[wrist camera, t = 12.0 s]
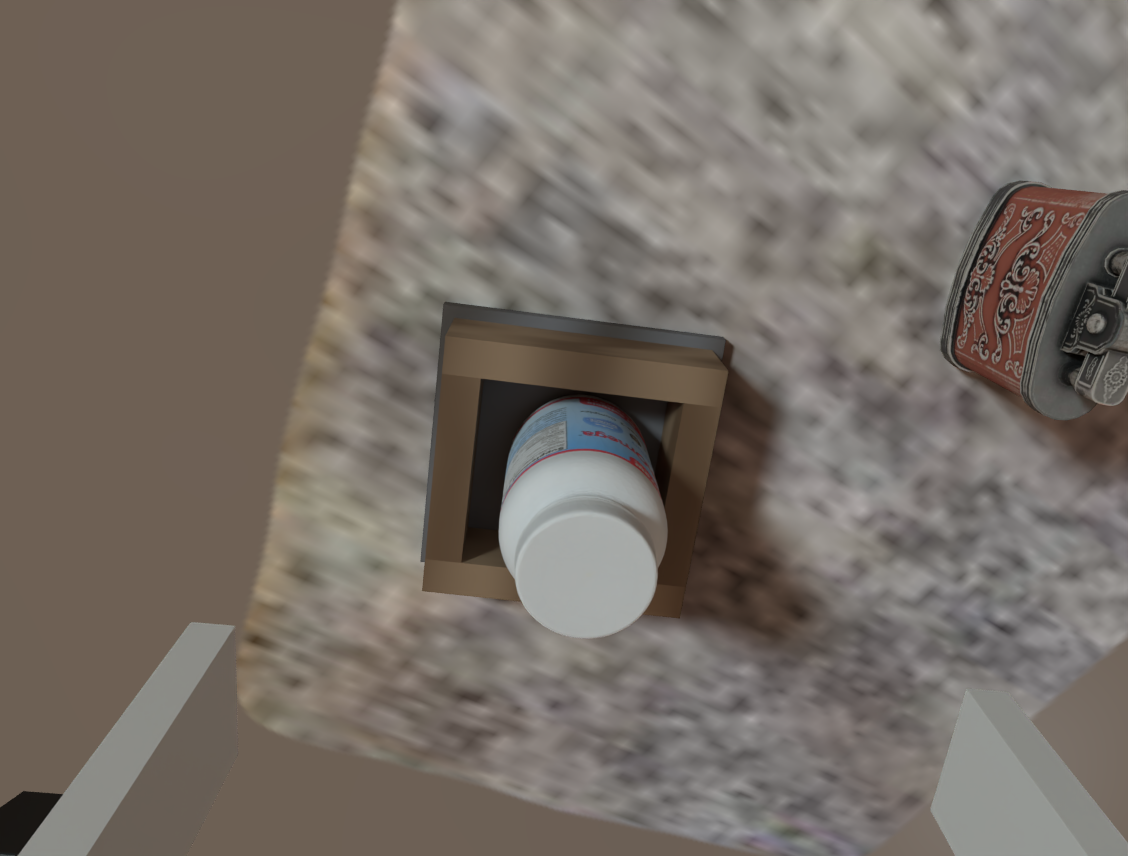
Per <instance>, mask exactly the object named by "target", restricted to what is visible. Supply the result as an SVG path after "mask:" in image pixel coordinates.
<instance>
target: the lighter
mask: <svg viewBox="0 0 1128 856" xmlns="http://www.w3.org/2000/svg"><path fill="white" fill-rule="evenodd" d="M940 350H941V352H942V354H943V356H944V358H945V359H946V360H948V361H949V362H950V363H951V364H953V365H954V366H956V367H958V368H960V369H962V370H965V371H967V372H973V373H978V374H980V375H982V376H983V377H985V378H987V379H989V380H991V381H992V382H994V383H996V384H998V385H1000V386H1002V387H1003V388H1005V389H1007V390H1009V391H1011V392H1013V393H1014V394H1016V395H1018V396H1020V397H1022V398H1023V400H1024V402H1025V403H1026V404H1027V405H1029V406H1030V407H1031V408H1032V409H1033V410H1035V411H1037V412H1039V413H1041V414H1042V415H1044V416H1047V417H1049V418H1052V419H1055V420H1070V419H1074V418H1078V417H1081V416H1082V415H1084V414H1086V413H1088V412H1089V411H1091V410H1092V409H1093V407H1094V406H1095V405H1096V404H1097V403H1099V404H1101V405H1106V406H1115V405H1118V404H1119V403H1120V402H1122V401H1123V399H1124V398H1125V396H1126V394H1127V392H1128V191H1126V190H1121V191H1117V192H1113V193H1109V194H1105V193H1095V192H1085V191H1076V190H1066V189H1056V188H1052V187H1050V186H1048V185H1046V184H1044V183H1041V182H1031V181H1016V182H1012V183H1008V184H1006V185H1005V186H1003V187H1002V188H1000V189H999V190H998V191H997V192H996V193H995V194H994V196H993V197H992V199H991V200H990V202H989V204H988V206H987V207H986V209H985V211H984V213H983V214H982V216H981V218H980V220H979V222H978V223H977V225H976V227H975V229H974V230H973V232H972V235H971V237H970V239H969V241H968V244H967V246H966V248H965V251H964V253H963V255H962V258H961V260H960V262H959V264H958V267H957V269H956V273H955V276H954V280H953V283H952V286H951V290H950V293H949V297H948V300H947V304H946V308H945V314H944V320H943V326H942V332H941V338H940Z"/></svg>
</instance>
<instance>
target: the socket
mask: <svg viewBox="0 0 1128 856" xmlns="http://www.w3.org/2000/svg"><path fill="white" fill-rule="evenodd" d="M725 341H726V340H725V339H724V338H723V337H719V336H711V335H703V334H695V333H687V332H679V331H671V330H663V329H655V328H648V327H640V326H632V325H624V324H616V323H608V322H600V321H592V320H584V319H576V318H569V317H561V316H553V315H545V314H537V313H529V312H521V311H513V310H505V309H497V308H490V307H482V306H474V305H466V304H458V303H450V302H445V303H444V304H443V316H442V327H441V338H440V349H439V360H438V372H437V383H436V394H435V405H434V416H433V428H432V439H431V450H430V461H429V472H428V484H427V495H426V506H425V517H424V528H423V540H422V551H421V562H425V566H424V577H423V588H422V591H427V592H436V593H445V594H455V595H464V596H474V597H483V598H493V599H502V600H512V601H521V600H520V597H519V595H518V592H517V588H516V583H515V579H514V578H513V576H512V575H511V573H510V572H509V570H508V568H507V566H506V564H505V562H504V559H503V556H502V553H501V549H500V544H499V518H500V511H501V504H502V498H503V490H504V482H505V475H506V468H507V461H508V454H509V450H510V446H511V443H512V440H513V438H514V436H515V434H516V432H517V430H518V429H519V427H520V426H521V424H522V423H523V422H524V421H525V420H526V418H527V417H528V416H529V415H530V414H532V413H533V412H534V411H535V410H536V409H538V408H539V407H541V406H542V405H544V404H546V403H548V402H550V401H552V400H554V399H557V398H560V397H563V396H568V395H589V396H595V397H599V398H602V399H604V400H607V401H609V402H611V403H613V404H615V405H616V406H618V407H619V408H621V409H622V410H623V411H625V412H626V413H627V414H628V415H629V416H630V417H631V418H632V420H633V421H634V422H635V424H636V425H637V427H638V428H639V430H640V432H641V434H642V436H643V439H644V441H645V444H646V448H647V451H648V455H649V458H650V461H651V465H652V468H653V471H654V475H655V479H656V481H657V485H658V488H659V492H660V495H661V498H662V502H663V505H664V509H665V514H666V519H667V528H668V533H667V544H666V549H665V553H664V556H663V559H662V561H661V563H660V565H659V567H658V579H657V587H656V590H655V593H654V596H653V599H652V601H651V603H650V605H649V606H648V608H647V609H646V610H645V612H644V613H643V614H644V615H653V616H663V617H672V618H680V614H681V609H682V604H683V599H684V594H685V589H686V584H687V579H688V574H689V569H690V563H691V558H692V553H693V548H694V543H695V538H696V533H697V528H698V523H699V518H700V513H701V508H702V503H703V498H704V493H705V488H706V483H707V477H708V472H709V467H710V462H711V457H712V452H713V447H714V442H715V437H716V432H717V427H718V422H719V417H720V412H721V407H722V402H723V397H724V391H725V386H726V381H727V376H728V370H727V368H726V367H725V366H724V365H723V363H722V357H723V352H724V347H725ZM521 602H522V601H521Z"/></svg>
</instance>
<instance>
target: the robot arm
mask: <svg viewBox="0 0 1128 856" xmlns="http://www.w3.org/2000/svg"><path fill="white" fill-rule="evenodd" d="M237 734H238V731H237V686H236V642H235V626H230V625H218V624H207V623H194V622H191V623H190V624H189V625H188V627H187V628H186V629H185V631H184V632H183V634H182V635H181V636H180V638H179V639H178V640H177V642H176V643H175V644H174V646H173V647H172V648H171V650H170V651H169V652H168V654H167V655H166V656H165V658H164V659H163V660H162V662H161V663H160V665H159V666H158V667H157V669H156V670H155V671H154V673H153V674H152V675H151V677H150V678H149V679H148V681H147V682H146V684H145V685H144V686H143V687H142V689H141V690H140V691H139V693H138V694H137V696H136V697H135V698H134V700H133V701H132V702H131V704H130V705H129V706H128V708H127V709H126V710H125V712H124V713H123V714H122V716H121V717H120V719H119V720H118V721H117V723H116V724H115V725H114V727H113V728H112V729H111V731H110V732H109V733H108V735H107V736H106V737H105V739H104V740H103V741H102V743H101V744H100V746H99V747H98V748H97V750H96V751H95V752H94V754H93V755H92V756H91V758H90V759H89V760H88V762H87V763H86V764H85V766H84V767H83V768H82V770H81V771H80V772H79V774H78V775H77V776H76V778H75V779H74V781H73V782H72V783H71V785H70V786H69V787H68V789H67V790H66V791H65V793H64V794H53V793H39V792H26V791H23V792H22V793H21V794H19V795H17V796H16V797H15V798H13V799H12V800H10V801H9V802H7V803H6V804H5V805H3V806H2V807H0V856H187V854H188V852H189V850H190V848H191V846H192V844H193V842H194V840H195V838H196V836H197V834H198V832H199V830H200V828H201V826H202V824H203V823H204V821H205V819H206V817H207V815H208V813H209V811H210V809H211V807H212V805H213V803H214V801H215V799H216V797H217V795H218V793H219V791H220V789H221V787H222V785H223V783H224V781H225V779H226V777H227V775H228V773H229V772H230V769H231V768H232V765H233V764H234V762H235V760H236V758H237V756H238V735H237ZM930 810H931V812H932V814H933V816H934V818H935V819H936V821H937V823H938V825H939V827H940V829H941V830H942V832H943V834H944V836H945V838H946V840H947V841H948V843H949V845H950V847H951V849H952V851H953V852H954V854H955V856H1128V843H1127V841H1126V840H1125V839H1124V838H1123V836H1122V835H1121V834H1120V832H1119V831H1118V830H1117V829H1116V827H1115V826H1114V825H1113V824H1112V822H1111V821H1110V820H1109V819H1108V817H1107V816H1106V815H1105V814H1104V812H1103V811H1102V810H1101V809H1100V807H1099V806H1098V805H1097V804H1096V802H1095V801H1094V800H1093V798H1092V797H1091V796H1090V795H1089V794H1088V792H1087V791H1086V790H1085V788H1084V787H1083V786H1082V785H1081V783H1080V782H1079V781H1078V780H1077V778H1076V777H1075V776H1074V775H1073V773H1072V772H1071V771H1070V770H1069V768H1068V767H1067V766H1066V764H1065V763H1064V762H1063V761H1062V759H1061V758H1060V757H1059V756H1058V754H1057V753H1056V752H1055V751H1054V749H1053V748H1052V747H1051V746H1050V744H1049V743H1048V742H1047V741H1046V739H1045V738H1044V737H1043V736H1042V734H1041V733H1040V732H1039V731H1038V729H1037V728H1036V727H1035V725H1034V724H1033V723H1032V722H1031V720H1030V719H1029V718H1028V717H1027V715H1026V714H1025V713H1024V712H1023V710H1022V709H1021V708H1020V707H1019V705H1018V704H1017V703H1016V702H1015V700H1014V699H1013V698H1012V696H1011V695H1010V694H1009V693H1008V692H1003V691H991V690H979V689H968V688H967V689H966V692H965V696H964V699H963V702H962V706H961V709H960V712H959V716H958V719H957V722H956V726H955V729H954V732H953V736H952V739H951V742H950V746H949V749H948V752H947V756H946V759H945V762H944V766H943V769H942V772H941V776H940V779H939V782H938V786H937V789H936V792H935V796H934V799H933V802H932V806H931V809H930Z"/></svg>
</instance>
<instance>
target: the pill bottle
mask: <svg viewBox="0 0 1128 856" xmlns="http://www.w3.org/2000/svg"><path fill="white" fill-rule="evenodd" d="M667 533H668V528H667V519H666V514H665V509H664V505H663V502H662V498H661V495H660V492H659V488H658V485H657V481H656V479H655V475H654V471H653V468H652V465H651V461H650V458H649V455H648V451H647V448H646V444H645V441H644V439H643V436H642V434H641V432H640V430H639V428H638V427H637V425H636V424H635V422H634V421H633V420H632V418H631V417H630V416H629V415H628V414H627V413H626V412H625V411H623V410H622V409H621V408H619V407H618V406H616V405H615V404H613V403H611V402H609V401H607V400H604V399H602V398H599V397H595V396H589V395H568V396H563V397H560V398H557V399H554V400H552V401H550V402H548V403H546V404H544V405H542V406H541V407H539V408H538V409H536V410H535V411H534V412H533V413H532V414H530V415H529V416H528V417H527V418H526V420H525V421H524V422H523V423H522V424H521V426H520V427H519V429H518V430H517V432H516V434H515V436H514V438H513V440H512V443H511V446H510V450H509V454H508V461H507V468H506V475H505V482H504V490H503V498H502V504H501V511H500V518H499V544H500V549H501V553H502V556H503V559H504V562H505V564H506V566H507V568H508V570H509V572H510V573H511V575H512V576H513V578H514V579H515V583H516V588H517V592H518V595H519V597H520V600H521V601H522V603H523V605H524V607H525V608H526V610H527V611H528V612H529V614H530V615H531V616H533V617H534V619H535V620H537V621H538V622H539V623H540V624H542V625H543V626H544V627H546V628H548V629H550V630H551V631H553V632H556V633H558V634H561V635H564V636H568V637H573V638H582V639H591V638H600V637H604V636H608V635H612V634H614V633H616V632H619V631H621V630H623V629H625V628H626V627H628V626H630V625H631V624H632V623H634V622H635V621H636V620H637V619H638V618H639V617H640V616H641V615H642V614H643V613H644V612H645V610H646V609H647V608H648V606H649V605H650V603H651V601H652V599H653V596H654V593H655V590H656V587H657V579H658V567H659V565H660V563H661V561H662V559H663V556H664V553H665V549H666V544H667Z"/></svg>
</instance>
